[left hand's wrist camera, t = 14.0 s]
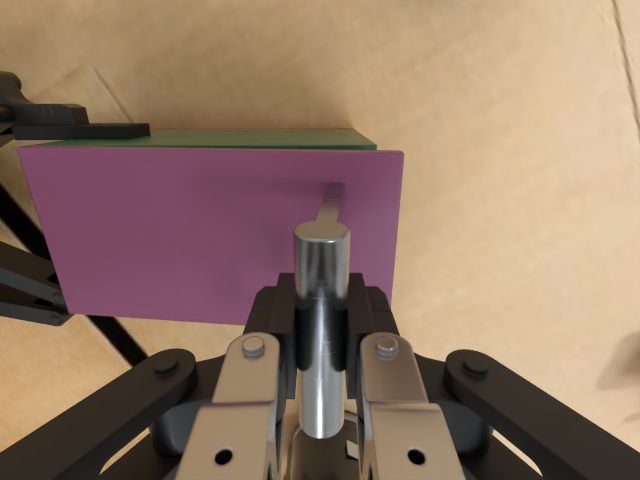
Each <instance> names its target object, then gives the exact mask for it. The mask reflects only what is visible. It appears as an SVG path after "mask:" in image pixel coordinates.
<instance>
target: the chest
mask: <svg viewBox="0 0 640 480" xmlns="http://www.w3.org/2000/svg"><path fill="white" fill-rule="evenodd" d="M150 134H151V135H150V136H145V137H139V138H134V139H71V140H64V141H58V142H51V143H44V144H37V145H33V146H103V147H174V148H246V149H318V150H377V145H376V144H374V143H373V142H372V141H370V140H369V139H367V138H366V137H364V136H363V135H361V134H360V133H359V132H357V131H356V130H355V129H150Z"/></svg>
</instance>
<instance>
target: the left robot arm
mask: <svg viewBox="0 0 640 480" xmlns="http://www.w3.org/2000/svg"><path fill="white" fill-rule="evenodd" d="M296 377H297V340H296V308H295V279H294V273H279V277H278V281H277V286H264V287H263V288H262V289H261V290H260V291H259V292H258V293H257V294H256V296H255V299H254V302H253V305H252V308H251V311H250V314H249V317H248V320H247V323H246V326H245V329H244V332H243V335H241V336H239V337H238V338H236V339H235V340H233V341H232V342H231V343H230V345H229V347H228V349H227V352H226V354H224V355H222V356H219V357H216V358H213V359H208V360H204V361H200V362H196V360H195V356H194V355H193V354H192V353H191V352H190V351H188V350H185V349H168V350H164V351H161V352H158V353H156V354H154V355H152V356H150V357H149V358H147V359H145V360H144V361H142V362H141V363H139V364H138V365H136V366H135V367H133V368H131V369H130V370H128V371H127V372H125V373H124V374H122V375H121V376H119V377H117V378H116V379H114V380H113V381H111V382H110V383H108V384H107V385H105V386H103V387H102V388H100V389H99V390H97V391H96V392H94V393H93V394H91V395H89V396H88V397H86V398H85V399H83V400H82V401H80V402H78V403H77V404H75V405H74V406H72V407H71V408H69V409H68V410H66V411H64V412H63V413H61V414H60V415H58V416H57V417H55V418H54V419H52V420H50V421H49V422H47V423H46V424H44V425H43V426H41V427H40V428H38V429H36V430H35V431H33V432H32V433H30V434H29V435H27V436H26V437H24V438H22V439H21V440H19V441H18V442H16V443H15V444H13V445H12V446H10V447H8V448H7V449H5V450H4V451H2V452H1V453H0V480H280V476H281V459H282V442H283V426H284V419H283V415H284V412H285V406H286V399H295V389H296ZM345 377H346V388H347V399H356V403H357V416H356V415H354V414H351V413H348V412H344V423H343V426H342V428H341V429H340V431H339V432H338V433H337V434H336V435H334V436H332V437H330V438H326V439H317V438H313V437H311V436H309V435H307V434H306V433H305V432H304V431H303V429H302V428H301V426H300V424H298V426H297V427H296V428H295V430H294V433H293V438H292V445H291V446H290V447H289V448H288V458H287V470H286V476H285V477H284V480H640V453H639V452H638V451H636V450H635V449H633V448H632V447H630V446H628V445H627V444H625V443H624V442H622V441H621V440H619V439H618V438H616V437H614V436H613V435H611V434H610V433H608V432H607V431H605V430H604V429H602V428H600V427H599V426H597V425H596V424H594V423H593V422H591V421H590V420H588V419H586V418H585V417H583V416H582V415H580V414H579V413H577V412H576V411H574V410H572V409H571V408H569V407H568V406H566V405H565V404H563V403H562V402H560V401H558V400H557V399H555V398H554V397H552V396H551V395H549V394H547V393H546V392H544V391H543V390H541V389H540V388H538V387H537V386H535V385H533V384H532V383H530V382H529V381H527V380H526V379H524V378H523V377H521V376H519V375H518V374H516V373H515V372H513V371H512V370H510V369H509V368H507V367H505V366H504V365H502V364H501V363H499V362H498V361H496V360H495V359H493V358H491V357H490V356H488V355H486V354H483V353H481V352H478V351H474V350H465V349H463V350H456V351H453V352H451V353H450V354H449V355H448V356H447V358H446V362H443V361H438V360H434V359H429V358H426V357H423V356H420V355H418V354H416V353H414V352H413V349H412V347H411V345H410V343H409V342H408V341H407V340H405V339H404V338H402V337H401V336H400V334H399V331H398V328H397V326H396V323H395V320H394V317H393V314H392V312H391V308H390V305H389V302H388V299H387V297H386V294H385V293H384V292H383V291H382V290H381V289H380V288H379V287H377V286H365V282H364V278H363V274H362V273H349V289H348V307H347V322H346V351H345ZM148 427H149V431H150V433H149V434H148V435H147V436H146V437H144V438H143V439H142V440H141V441H140V442H138V443H137V444H136V445H135V446H134V447H132V448H131V449H130V450H129V451H128V452H126V453H125V454H124V455H123V456H122V457H121V458H119V459H118V460H117V461H116V462H115V463H113V464H112V465H111V466H110V467H109V468H107V469H106V470H105V471H104V472H103V473H101V474H100V472H101V470H102V468H103V466H104V465H105V464H106V462H107V461H108V460H109V459H110V458H111V457H112V456H113V455H115V454H116V453H117V452H118V451H119V450H121V449H122V448H123V447H124V446H126V445H127V444H128V443H129V442H130V441H132V440H133V439H134V438H135V437H137V436H138V435H139V434H140V433H141V432H143V431H144V430H145V429H146V428H148ZM494 429H495V430H496V431H497V432H499V433H500V434H501V435H502V436H504V437H505V438H506V439H507V440H508V441H510V442H511V443H512V444H513V445H515V446H516V447H517V448H518V449H519V450H521V451H522V452H523V453H524V454H526V455H527V456H528V457H529V458H530V459H531V460H532V461H533V462H534V463H535V464H536V465H537V466H538V468H539V470H540V471H541V473H542V476H543V477H542V476H541V475H540V474H539V473H537V472H536V471H535V470H534V469H533V468H531V467H530V466H529V465H528V464H527V463H525V462H524V461H523V460H522V459H521V458H519V457H518V456H517V455H516V454H515V453H514V452H512V451H511V450H510V449H509V448H508V447H506V446H505V445H504V444H503V443H502V442H500V441H499V440H498V439H497V438H496V437H494V436H493V435H492V434H493V430H494ZM99 474H100V475H99Z"/></svg>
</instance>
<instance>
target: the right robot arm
mask: <svg viewBox="0 0 640 480" xmlns="http://www.w3.org/2000/svg"><path fill="white" fill-rule="evenodd" d="M20 90H21V82H20V80H19V78H18V77H17V76H16V75H15V74H13V73H11V72H4V71H0V147H2V146H4V145H5V144H7V143H8V142H10V141H11V140H13V139H14V138H15V140H71V139H134V138H139V137H145V136H150V135H151V134H150V128H149V123H89V120H88V116H87V112H86V108H85V107H83V106H80V105H78V104H34V103H32V102H30V101H28V100H27V99H26V98H25V97H24V96H23V94H22V93H21V91H20ZM73 315H74V314H71V313H69V311H68V308H67V305H66V302H65V299H64V296H63V292H62V289H61V286H60V283H59V280H58V277H57V274H56V271H55V268H54V264H53V262H51V261H48V260H46V259H43V258H41V257H38V256H36V255H33V254H31V253H28V252H26V251H23V250H21V249H18V248H16V247H14V246H11V245H9V244H6V243H4V242H1V241H0V316H4V317H9V318H15V319H20V320H26V321H31V322H36V323H42V324H47V325H53V326H61V325H63V324H64V323H65V322H66V321H67V320H68V319H70V318H71V317H72V316H73Z"/></svg>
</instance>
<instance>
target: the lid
mask: <svg viewBox="0 0 640 480" xmlns="http://www.w3.org/2000/svg"><path fill="white" fill-rule="evenodd" d="M17 152H18V156H19V159H20V162H21V165H22V168H23V171H24V174H25V177H26V180H27V184H28V187H29V190H30V193H31V196H32V199H33V202H34V205H35V208H36V212H37V215H38V218H39V221H40V224H41V227H42V230H43V233H44V236H45V240H46V243H47V246H48V249H49V252H50V255H51V258H52V261H53V264H54V268H55V271H56V274H57V277H58V280H59V283H60V286H61V289H62V292H63V296H64V299H65V302H66V305H67V308H68V311H69V313H71V314H85V315H100V316H115V317H129V318H144V319H158V320H173V321H188V322H202V323H217V324H231V325H246V323H247V320H248V317H249V314H250V311H251V308H252V305H253V302H254V299H255V296H256V294H257V293H258V292H259V291H260V290H261V289H262V288H263V287H264V286H277V281H278V277H279V273H294V279H295V308H296V340H297V375H298V407H299V424H300V426H301V428H302V429H303V431H304V432H305V433H306V434H307V435H309V436H311V437H313V438H317V439H326V438H330V437H332V436H334V435H336V434H337V433H338V432H339V431H340V429H341V428H342V426H343V423H344V402H345V351H346V322H347V307H348V289H349V273H362V274H363V278H364V282H365V286H377V287H379V288H380V289H381V290H382V291H383V292H384V293H385V294H386V297H387V299H388V302H389V305H390V308H391V297H392V285H393V274H394V263H395V252H396V241H397V230H398V218H399V207H400V196H401V185H402V174H403V163H404V153H403V152H402V151H390V150H318V149H246V148H174V147H103V146H24V147H18V148H17Z"/></svg>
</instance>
